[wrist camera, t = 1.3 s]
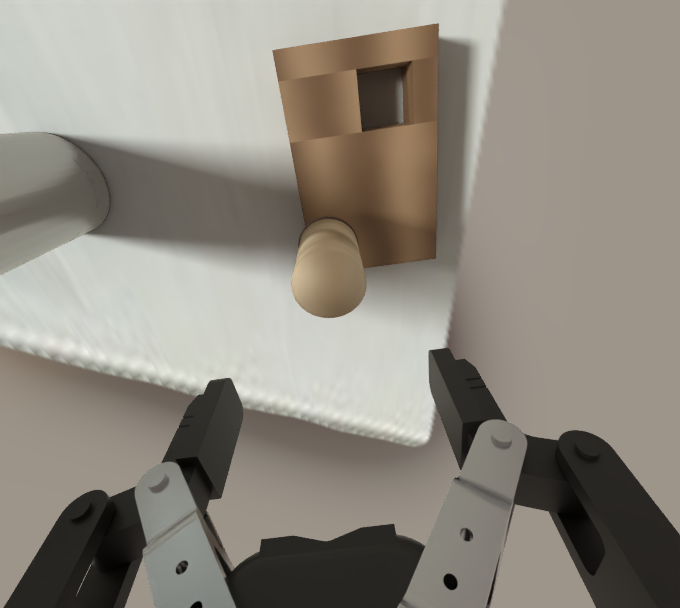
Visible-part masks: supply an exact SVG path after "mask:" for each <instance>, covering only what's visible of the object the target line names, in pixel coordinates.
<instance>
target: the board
mask: <svg viewBox="0 0 680 608" xmlns="http://www.w3.org/2000/svg"><path fill="white" fill-rule="evenodd" d="M438 35H439V23H438V24H432V25H426V26H420V27H413V28H407V29H401V30H395V31H389V32H382V33H376V34H370V35H364V36H358V37H352V38H345V39H339V40H333V41H327V42H321V43H315V44H308V45H302V46H296V47H290V48H284V49H278V50H272V51H273V56H274V61H275V67H276V72H277V77H278V83H279V88H280V93H281V99H282V104H283V109H284V115H285V120H286V125H287V130H288V136H289V141H290V146H291V152H292V157H293V162H294V168H295V173H296V178H297V184H298V189H299V194H300V200H301V205H302V210H303V216H304V221H305V226H307V225H308V224H309V223H310V222H312V221H313V220H315V219H317V218H320V217H324V216H333V217H336V218H340V219H342V220H344V221H345V222H347V223H348V224H349V225H350V226H351V227H352V228H353V229H354V231H355V233H356V235H357V238H358V243H359V252H360V256H361V260H362V265H363V268H368V267H375V266H383V265H390V264H398V263H405V262H412V261H420V260H427V259H435V258H436V207H437V121H438ZM398 67H402V80H403V111H404V123H400V124H394V125H387V126H381V127H374V128H367V129H361V117H360V106H359V95H358V84H357V74H360V73H366V72H373V71H379V70H385V69H392V68H398Z"/></svg>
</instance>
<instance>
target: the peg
mask: <svg viewBox="0 0 680 608" xmlns="http://www.w3.org/2000/svg"><path fill="white" fill-rule="evenodd" d="M298 248H299V249H298V253H297V258H296V263H295V267H294V272H293V276H292V292H293V295H294V297H295V300H296V301H297V303H298V304H299V305H300V306H301V307H302V308H303V309H304V310H305V311H307V312H309V313H310V314H312V315H315V316H318V317H323V318H335V317H340V316H343V315H345V314H347V313H349V312H351V311H352V310H354V309H355V308H356V307H357V306H358V305H359V304H360V302H361V301H362V299H363V297H364V295H365V291H366V278H365V273H364V269H363V265H362V260H361V256H360V252H359V243H358V238H357V235H356V233H355V231H354V229H353V228H352V227H351V226H350V225H349V224H348V223H347V222H345V221H344V220H342V219H340V218H336V217H333V216H324V217H320V218H317V219H315V220H313V221H312V222H310V223H309V224H308V225H307V226H306V227H305V228H304V229H303V231H302V233H301V235H300V238H299V244H298Z"/></svg>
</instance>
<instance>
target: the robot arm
mask: <svg viewBox="0 0 680 608" xmlns="http://www.w3.org/2000/svg"><path fill="white" fill-rule="evenodd" d="M109 204H110V198H109V191H108V188H107V185H106V182H105V179H104V177H103V176H102V174H101V172H100V170H99V169H98V167H97V166H96V165H95V164H94V162H93V161H92V160H91V159H90V158H89V157H88V156H87V155H86V154H85V153H84V152H83V151H82V150H81V149H79V148H78V147H77V146H75V145H74V144H72V143H71V142H69V141H67V140H65V139H63V138H61V137H59V136H56V135H52V134H48V133H43V132H24V133H9V134H0V275H2V274H4V273H6V272H8V271H10V270H12V269H14V268H16V267H18V266H20V265H22V264H24V263H26V262H28V261H30V260H32V259H34V258H36V257H38V256H40V255H42V254H44V253H46V252H49V251H51V250H53V249H55V248H57V247H59V246H61V245H63V244H65V243H67V242H69V241H71V240H73V239H75V238H77V237H79V236H81V235H83V234H85V233H87V232H89V231H91V230H93V229H95V228H97V227H98V226H99V225H101V224H102V222H103V221H104V220H105V218H106V216H107V214H108V211H109ZM429 383H430V389H431V393H432V396H433V399H434V401H435V404H436V407H437V409H438V412H439V414H440V417H441V420H442V423H443V425H444V428H445V430H446V433H447V436H448V438H449V441H450V444H451V446H452V449H453V452H454V455H455V457H456V460H457V462H458V465H459V468H460V470H461V472H460V475H459V477H458V478H454V480H453V482H452V483H451V486H450V488H449V490H448V493H447V495H446V498H445V500H444V502H443V505H442V507H441V510H440V512H439V514H438V517H437V520H436V522H435V524H434V527H433V529H432V531H431V534H430V536H429V539H428V541H427V543H426V546H424V545H422V544H421V543H420V542H418V541H415V540H413V539H411V538H408V537H405V536H401V535H396V532H395V527H394V524H389V525H380V526H372V527H363V528H359V529H357V530H355V531H352V532H350V533H348V534H345V535H343V536H340V537H338V538H335V539H333V540H331V541H319V540H314V539H309V538H303V537H298V536H287V537H278V538H270V539H262V540H261V546H260V552H257V553H255V554H254V555H252V556H250V557H248V558H247V559H246V560H244V561H243V562H242V563H240V564H239V565H238V566H237V567H236V568H234V567H233V565H232V563H231V561H230V559H229V558H228V555H227V553H226V551H225V549H224V547H223V544H222V542H221V540H220V538H219V536H218V533H217V531H216V529H215V527H214V524H213V522H212V520H211V518H210V516H209V514H208V512H207V510H206V509H207V506H208V503H209V500H212V499H219V498H221V497H222V493H223V489H224V486H225V482H226V479H227V475H228V471H229V468H230V464H231V460H232V456H233V453H234V449H235V446H236V442H237V438H238V435H239V431H240V428H241V424H242V420H243V407H242V403H241V401H240V398H239V396H238V394H237V391H236V389H235V386H234V384H233V382H232V380H231V379H230V378H224V379H217V380H211V381H210V382H209V383H208V385H207V387H206V390H205V392H204V394H202V395H198V396H197V397H196V398H195V399H194V400H193V401H192V403H191V404H190V405H189V406H188V408H187V410H186V412H185V414H184V416H183V419H182V421H181V423H180V425H179V428H178V429H177V431H176V433H175V435H174V437H173V440H172V442H171V444H170V446H169V448H168V450H167V452H166V454H165V457H164V459H163V461H162V463H161V464H158V465H156V466H155V467H153V468H152V469H150V470H149V471H147V472H146V474H144V475H143V476H142V478H141V479H140V480H139V482H138V484H137V486H136V487H134V488H131V489H129V490H127V491H124V492H122V493H119V494H117V495H114V496H112V497H109V496H108V495H107V494H106V493H105V492H104V491H102V490H94V491H90V492H87V493H85V494H83V495H82V496H80V497H79V498H77V499H75V500H74V501H73V502H72V503H71V504H69V506H68V507H66V509H65V510H64V511H63V512H62V514H61V515H60V517H59V518H58V520H57V521H56V523H55V525H54V526H53V528H52V530H51V531H50V533H49V535H48V536H47V538H46V539H45V541H44V543H43V544H42V546H41V548H40V549H39V551H38V553H37V554H36V556H35V557H34V559H33V561H32V562H31V564H30V566H29V567H28V569H27V571H26V572H25V574H24V575H23V577H22V579H21V580H20V582H19V584H18V585H17V587H16V588H15V590H14V592H13V593H12V595H11V597H10V598H9V600H8V601H7V603H6V605H5V606H4V608H124V607H125V604H126V602H127V599H128V596H129V593H130V591H131V588H132V585H133V582H134V580H135V577H136V574H137V572H138V569H139V566H140V563H141V561H142V558H144V563H145V567H146V571H147V575H148V579H149V584H150V588H151V592H152V596H153V600H154V605H155V608H490V606H491V602H492V597H493V593H494V589H495V585H496V582H497V577H498V573H499V569H500V564H501V560H502V556H503V552H504V548H505V543H506V539H507V535H508V532H509V528H510V523H511V519H512V515H513V511H514V507H515V504H516V505H521V506H526V507H531V508H536V509H540V510H545V511H549V513H550V515H551V517H552V519H553V521H554V523H555V525H556V527H557V529H558V531H559V533H560V535H561V537H562V539H563V541H564V543H565V545H566V547H567V549H568V551H569V553H570V556H571V558H572V560H573V562H574V564H575V566H576V568H577V569H578V572H579V574H580V576H581V578H582V580H583V582H584V584H585V586H586V588H587V590H588V592H589V594H590V596H591V598H592V600H593V602H594V604H595V606H596V608H680V535H679V533H678V532H677V531H676V529H675V528H674V527H673V525H672V524H671V523H670V522H669V520H668V519H667V518H666V516H665V515H664V514H663V513H662V511H661V510H660V509H659V507H658V506H657V505H656V504H655V502H654V501H653V500H652V498H651V497H650V496H649V495H648V493H647V492H646V491H645V489H644V488H643V487H642V486H641V484H640V483H639V482H638V480H637V479H636V478H635V477H634V475H633V474H632V473H631V472H630V470H629V469H628V468H627V466H626V465H625V464H624V462H623V461H622V460H621V459H620V457H619V456H618V455H617V454H616V452H615V451H614V449H613V448H612V447H611V446H610V445H609V444H608V443H606V442H605V441H604V440H603V439H601V438H599V437H598V436H596V435H593V434H591V433H588V432H584V431H577V430H574V431H568V432H565V433H563V434H562V435H561V436H560V438H559V440H551V439H544V438H537V437H532V436H529V435H526V434H524V433H523V432H522V431H521V430H520V429H519V428H518V427H516V426H515V425H513V424H511V423H509V422H507V420H506V419H505V417H504V415H503V414H502V412H501V410H500V409H499V407H498V405H497V403H496V402H495V400H494V398H493V397H492V395H491V393H490V391H489V390H488V388H486V385H485V383H484V381H483V380H482V379H481V376H480V374H479V373H478V371H477V369H476V368H475V367H474V366H473V365H472V364H471V363H469V362H468V361H467V360H465V359H460V360H455V359H454V357H453V355H452V353H451V351H450V349H449V348H443V349H436V350H429ZM90 564H91V567H90V569H89V566H90ZM88 569H89V571H88ZM87 571H88V573H87ZM86 573H87V575H86ZM85 575H86V577H85ZM84 577H85V579H84ZM83 579H84V581H83ZM82 581H83V583H82ZM81 583H82V586H81V588H80V590H79V587H80V585H81ZM78 590H79V592H78ZM77 592H78V594H77ZM76 595H77V596H76Z"/></svg>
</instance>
